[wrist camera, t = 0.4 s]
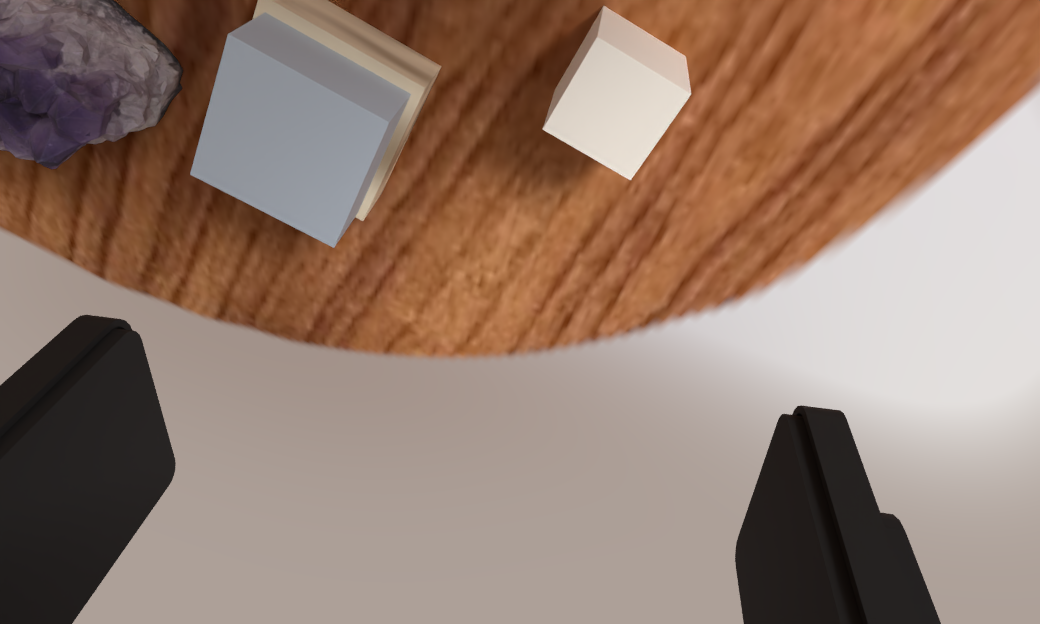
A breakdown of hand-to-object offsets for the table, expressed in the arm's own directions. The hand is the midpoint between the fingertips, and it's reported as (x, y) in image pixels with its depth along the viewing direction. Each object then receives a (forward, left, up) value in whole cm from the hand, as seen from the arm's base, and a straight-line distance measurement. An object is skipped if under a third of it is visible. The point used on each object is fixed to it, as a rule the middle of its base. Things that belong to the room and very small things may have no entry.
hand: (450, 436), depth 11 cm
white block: (+3, +4, -32) cm, 33 cm away
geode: (+19, -27, -33) cm, 46 cm away
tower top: (+12, -9, -29) cm, 32 cm away
